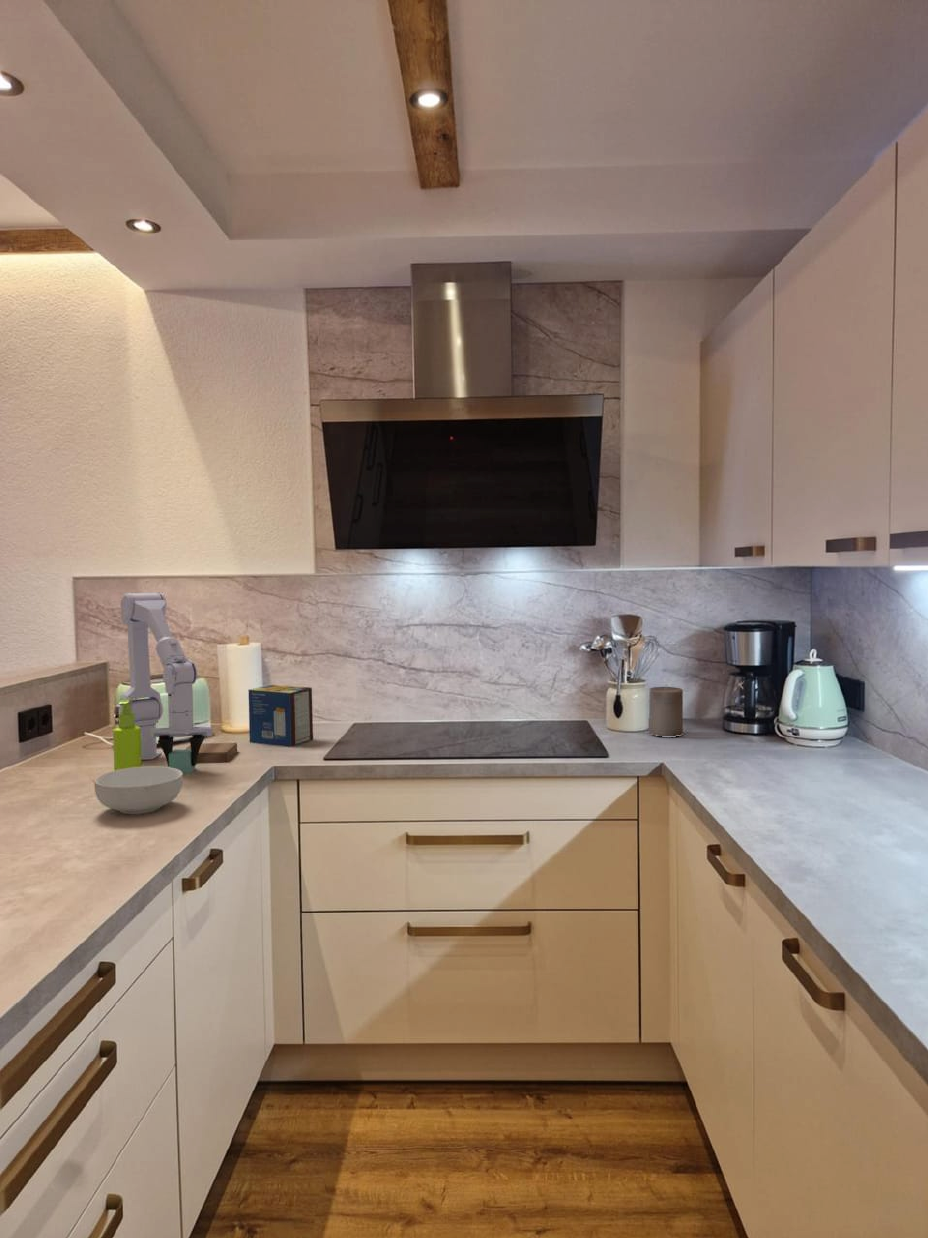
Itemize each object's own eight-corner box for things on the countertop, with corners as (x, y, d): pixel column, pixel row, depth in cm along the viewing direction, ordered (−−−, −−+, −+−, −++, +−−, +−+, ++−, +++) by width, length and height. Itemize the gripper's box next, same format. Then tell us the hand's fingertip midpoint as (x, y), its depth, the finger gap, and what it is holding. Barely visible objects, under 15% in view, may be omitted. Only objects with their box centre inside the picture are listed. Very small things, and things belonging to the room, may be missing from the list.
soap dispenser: (112, 789, 181) (109, 701, 180) (116, 782, 188) (114, 697, 187) (140, 787, 183) (137, 700, 182) (143, 780, 189) (141, 696, 188)
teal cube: (169, 774, 195) (168, 754, 195) (175, 769, 200) (174, 749, 200) (190, 773, 196) (189, 753, 195) (195, 768, 201) (194, 749, 200)
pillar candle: (676, 731, 243) (676, 682, 242) (687, 737, 233) (687, 686, 232) (644, 732, 242) (644, 682, 241) (654, 738, 233) (654, 687, 232)
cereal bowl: (88, 825, 156) (87, 789, 155) (101, 801, 172) (100, 769, 171) (181, 816, 160) (180, 782, 160) (185, 795, 176) (184, 763, 176)
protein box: (272, 735, 241) (270, 684, 240) (313, 740, 234) (312, 687, 234) (248, 742, 232) (247, 689, 231) (291, 747, 225) (290, 692, 224)
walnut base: (180, 764, 207) (179, 753, 206) (192, 754, 219) (192, 743, 218) (227, 763, 207) (227, 752, 207) (237, 753, 219) (236, 742, 219)
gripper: (145, 714, 192) (147, 770, 193) (207, 713, 194) (208, 768, 194) (154, 709, 200) (155, 763, 200) (213, 708, 201) (215, 761, 201)
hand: (182, 765), depth 198 cm, fingers closed on teal cube, 5 cm apart
